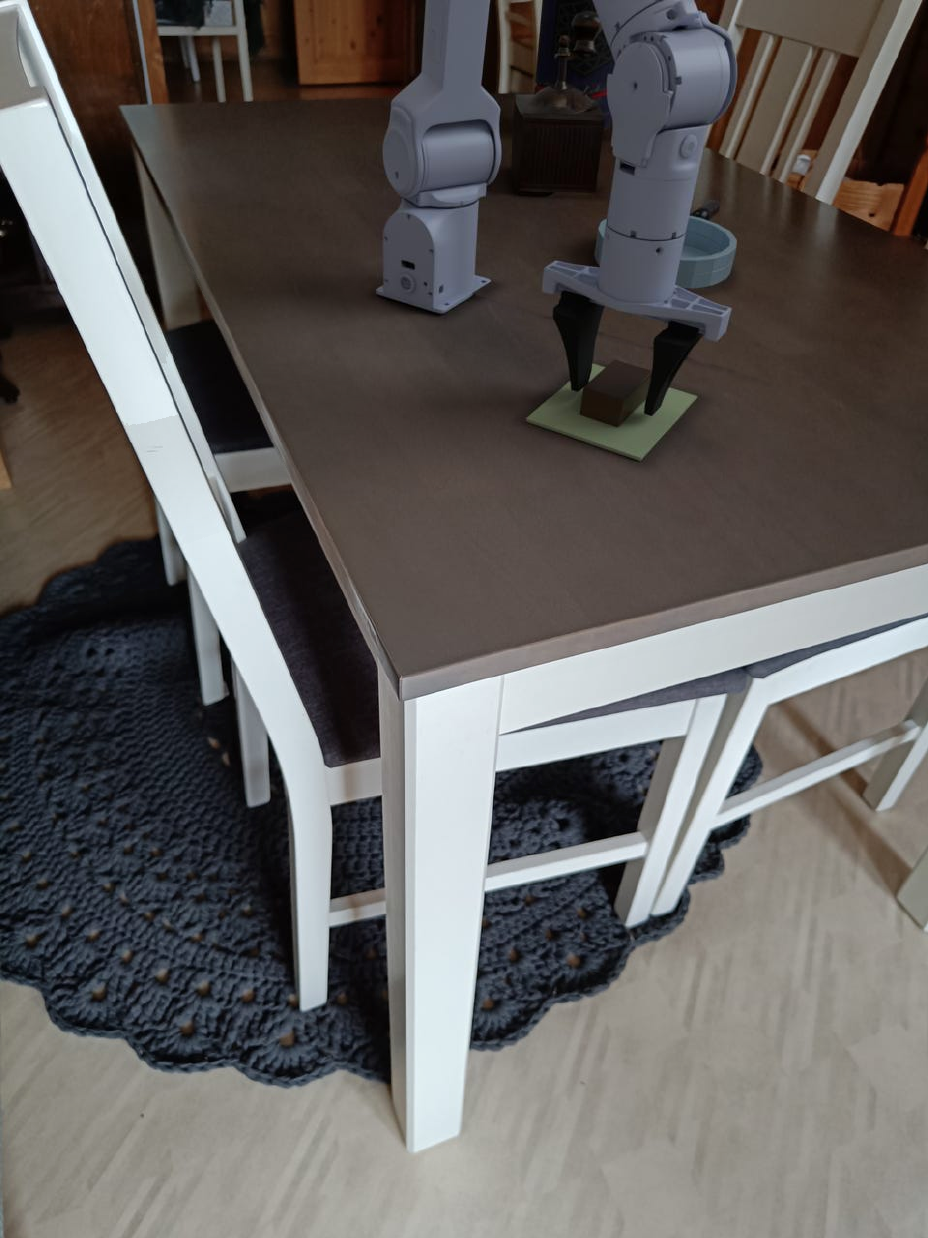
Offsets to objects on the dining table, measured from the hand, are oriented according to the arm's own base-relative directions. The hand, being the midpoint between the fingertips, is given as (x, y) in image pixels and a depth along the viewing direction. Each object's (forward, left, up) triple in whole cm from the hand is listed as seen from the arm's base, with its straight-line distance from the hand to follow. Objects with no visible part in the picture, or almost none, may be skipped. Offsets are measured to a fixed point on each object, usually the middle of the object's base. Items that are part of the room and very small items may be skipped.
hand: (615, 397), depth 74 cm
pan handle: (+43, +9, +1) cm, 44 cm away
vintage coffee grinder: (+52, +33, -1) cm, 62 cm away
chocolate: (0, 0, -1) cm, 1 cm away
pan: (+32, +9, -1) cm, 33 cm away
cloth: (0, 0, -1) cm, 1 cm away
